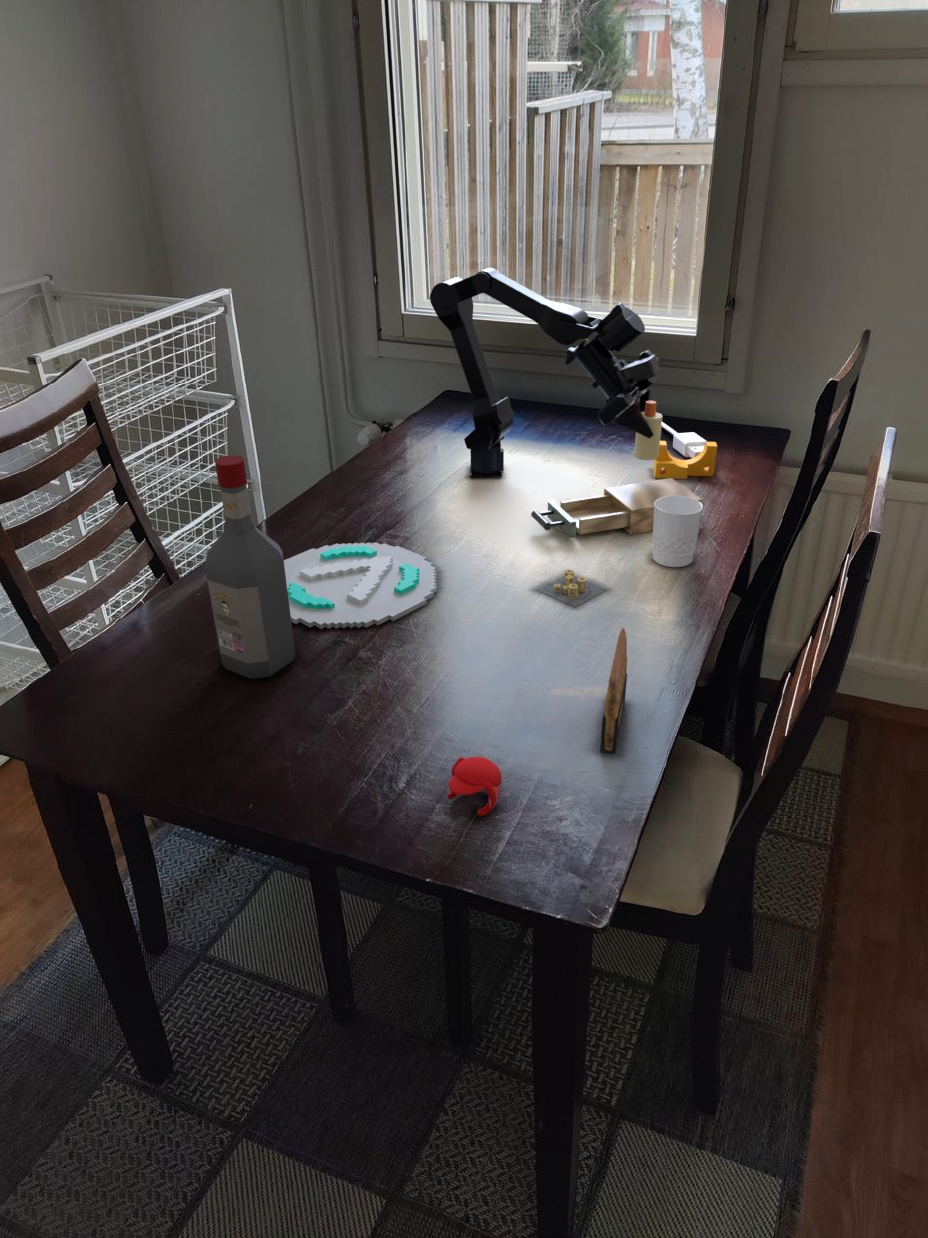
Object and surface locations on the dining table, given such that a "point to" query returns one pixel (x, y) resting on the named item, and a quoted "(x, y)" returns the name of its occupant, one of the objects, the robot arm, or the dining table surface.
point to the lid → (357, 584)
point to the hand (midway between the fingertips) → (655, 432)
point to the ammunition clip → (615, 697)
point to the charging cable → (687, 442)
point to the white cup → (675, 530)
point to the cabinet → (645, 500)
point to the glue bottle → (650, 446)
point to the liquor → (247, 585)
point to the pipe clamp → (685, 463)
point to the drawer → (584, 515)
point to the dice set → (571, 589)
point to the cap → (476, 780)
